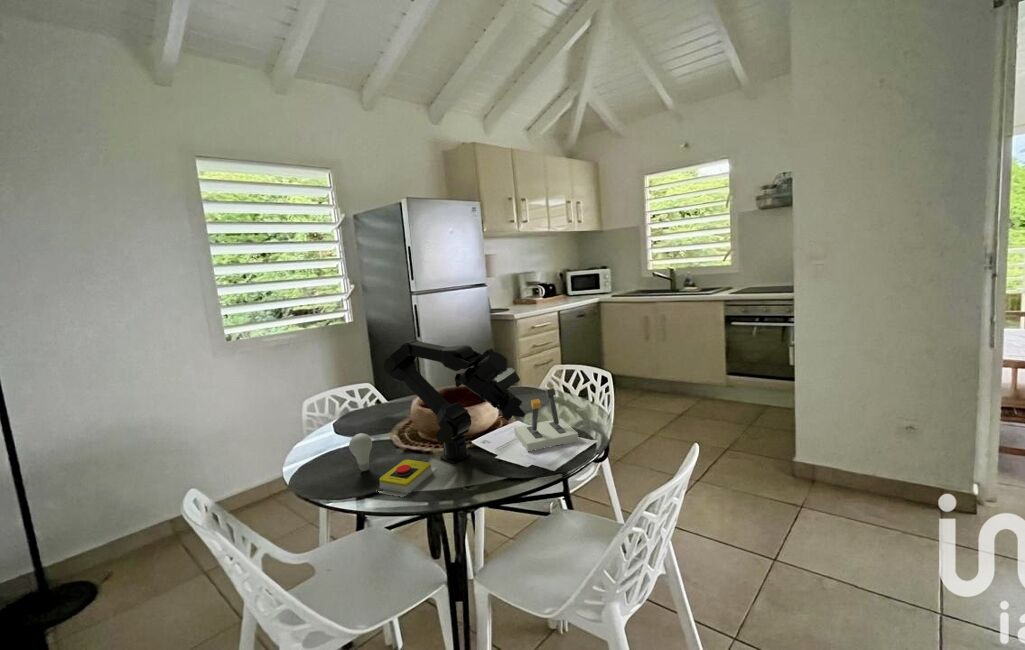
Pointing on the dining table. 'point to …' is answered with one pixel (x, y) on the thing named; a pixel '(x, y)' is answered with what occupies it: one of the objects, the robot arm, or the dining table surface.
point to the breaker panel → (546, 430)
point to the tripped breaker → (535, 412)
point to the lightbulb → (361, 450)
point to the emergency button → (405, 477)
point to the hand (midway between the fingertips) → (524, 415)
